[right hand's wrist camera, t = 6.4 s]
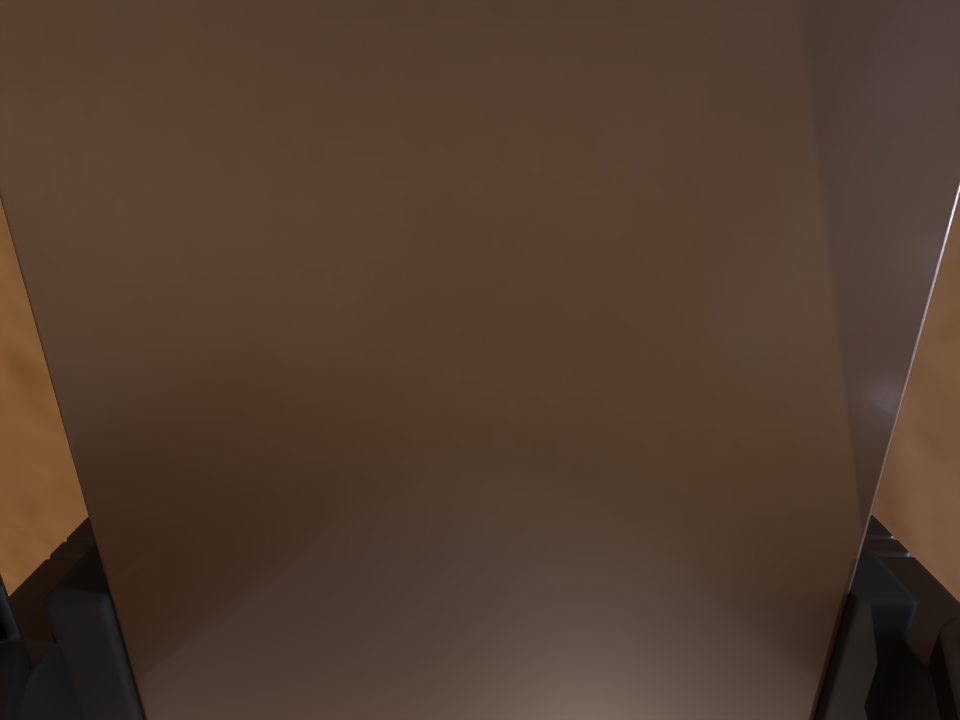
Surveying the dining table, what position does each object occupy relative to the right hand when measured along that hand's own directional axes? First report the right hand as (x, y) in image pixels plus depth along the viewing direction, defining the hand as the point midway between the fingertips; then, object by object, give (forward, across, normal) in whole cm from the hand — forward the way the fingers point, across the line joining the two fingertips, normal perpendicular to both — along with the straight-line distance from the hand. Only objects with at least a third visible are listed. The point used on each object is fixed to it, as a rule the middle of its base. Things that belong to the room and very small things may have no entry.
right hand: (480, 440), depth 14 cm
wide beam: (0, 0, -28) cm, 28 cm away
